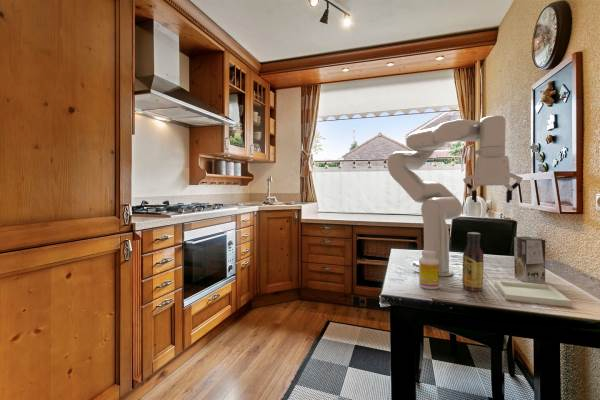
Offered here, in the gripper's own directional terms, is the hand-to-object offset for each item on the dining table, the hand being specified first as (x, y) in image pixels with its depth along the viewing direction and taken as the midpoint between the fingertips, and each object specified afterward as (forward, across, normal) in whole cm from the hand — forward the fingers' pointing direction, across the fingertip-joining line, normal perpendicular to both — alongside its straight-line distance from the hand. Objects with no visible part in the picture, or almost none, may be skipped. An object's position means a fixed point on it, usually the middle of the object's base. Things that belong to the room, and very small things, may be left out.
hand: (491, 202), depth 104 cm
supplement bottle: (+31, -19, -8) cm, 37 cm away
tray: (+30, +11, -3) cm, 32 cm away
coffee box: (+30, +14, +17) cm, 37 cm away
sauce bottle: (+30, -5, -4) cm, 31 cm away
